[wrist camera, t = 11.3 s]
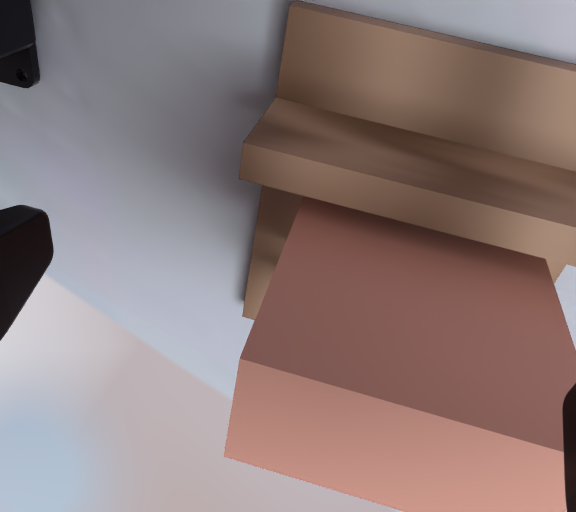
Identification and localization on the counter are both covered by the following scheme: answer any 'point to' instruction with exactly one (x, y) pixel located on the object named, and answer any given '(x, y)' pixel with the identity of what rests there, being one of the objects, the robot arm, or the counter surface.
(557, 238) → the book rack
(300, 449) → the pink rectangular block
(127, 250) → the counter surface
